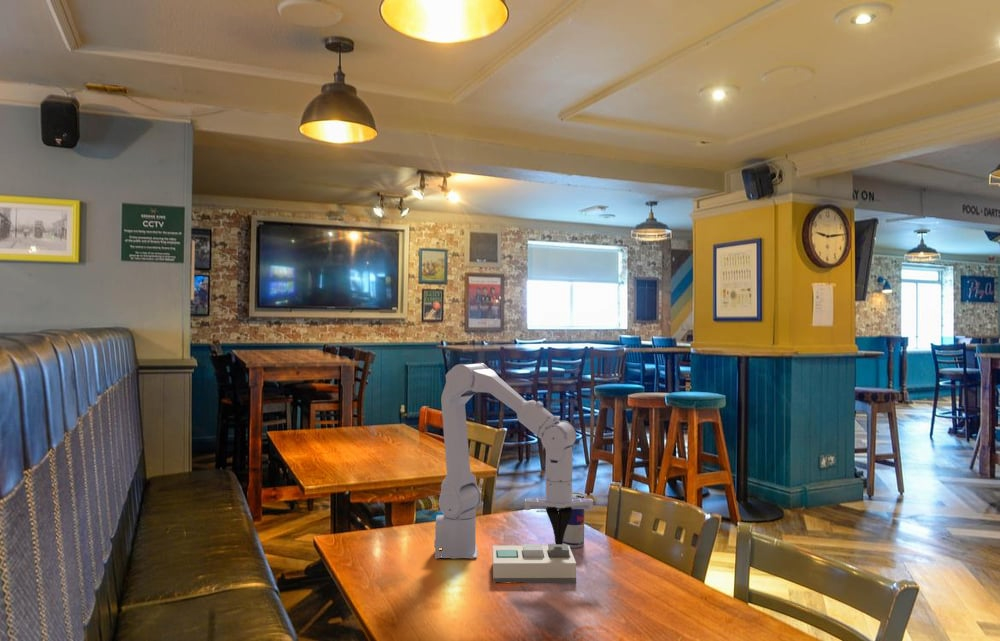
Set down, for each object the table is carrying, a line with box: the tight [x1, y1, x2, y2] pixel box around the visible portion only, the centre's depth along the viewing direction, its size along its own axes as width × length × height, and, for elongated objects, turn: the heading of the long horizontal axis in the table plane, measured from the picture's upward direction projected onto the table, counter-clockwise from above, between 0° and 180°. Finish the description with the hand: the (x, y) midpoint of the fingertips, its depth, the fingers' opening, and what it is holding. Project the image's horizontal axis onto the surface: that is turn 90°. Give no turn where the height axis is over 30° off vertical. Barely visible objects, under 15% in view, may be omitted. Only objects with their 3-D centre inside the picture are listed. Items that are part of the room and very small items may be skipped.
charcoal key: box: [547, 543, 569, 558], centre depth 139 cm, size 4×4×3 cm
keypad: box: [492, 544, 577, 584], centre depth 139 cm, size 17×11×4 cm, turn 91°
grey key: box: [522, 543, 543, 558], centre depth 139 cm, size 4×4×3 cm
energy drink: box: [563, 492, 585, 549], centre depth 157 cm, size 5×5×12 cm
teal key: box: [498, 550, 517, 558], centre depth 139 cm, size 4×4×3 cm
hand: (558, 543), depth 139 cm, fingers closed
